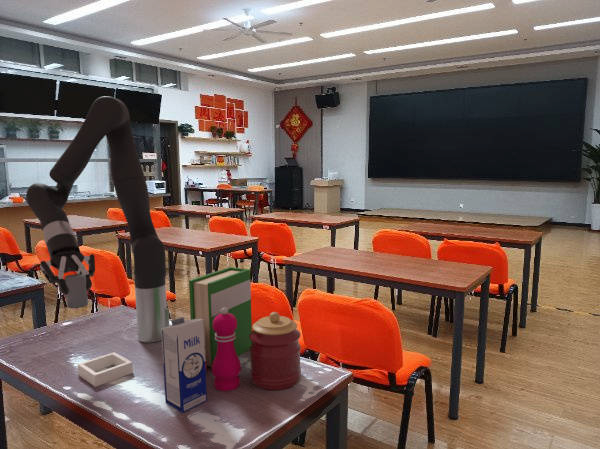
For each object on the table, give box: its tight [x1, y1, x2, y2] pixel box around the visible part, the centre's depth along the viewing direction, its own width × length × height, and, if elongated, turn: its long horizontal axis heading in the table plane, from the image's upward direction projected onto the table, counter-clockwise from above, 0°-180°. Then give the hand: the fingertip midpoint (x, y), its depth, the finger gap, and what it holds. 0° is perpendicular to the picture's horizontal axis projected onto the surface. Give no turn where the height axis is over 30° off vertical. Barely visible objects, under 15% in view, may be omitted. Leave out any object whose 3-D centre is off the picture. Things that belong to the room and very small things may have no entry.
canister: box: [249, 311, 302, 391], centre depth 115 cm, size 13×13×18 cm
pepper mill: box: [211, 308, 242, 392], centre depth 112 cm, size 7×7×20 cm
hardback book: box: [188, 266, 253, 372], centre depth 129 cm, size 18×7×24 cm, turn 151°
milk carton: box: [161, 317, 208, 414], centre depth 104 cm, size 7×7×20 cm
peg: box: [64, 273, 89, 309], centre depth 120 cm, size 5×5×8 cm
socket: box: [77, 351, 134, 388], centre depth 120 cm, size 10×10×3 cm
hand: (77, 290), depth 120 cm, fingers closed on peg, 5 cm apart
